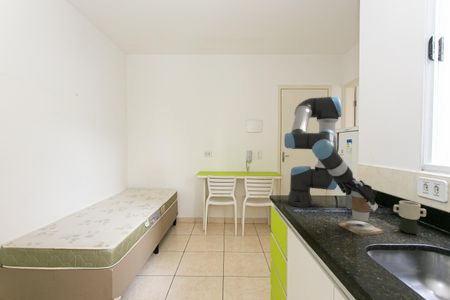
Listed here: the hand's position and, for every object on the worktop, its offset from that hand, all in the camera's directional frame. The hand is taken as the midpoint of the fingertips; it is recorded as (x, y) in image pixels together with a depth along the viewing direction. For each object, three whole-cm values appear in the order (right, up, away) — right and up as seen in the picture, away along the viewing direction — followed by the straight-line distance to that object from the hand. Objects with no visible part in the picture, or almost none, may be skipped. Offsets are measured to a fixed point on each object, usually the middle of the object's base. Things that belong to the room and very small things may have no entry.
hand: (366, 205), depth 98 cm
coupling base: (-3, -10, 0) cm, 11 cm away
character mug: (+16, -11, -3) cm, 20 cm away
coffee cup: (-3, -6, -1) cm, 7 cm away
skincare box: (+11, -10, +28) cm, 32 cm away
